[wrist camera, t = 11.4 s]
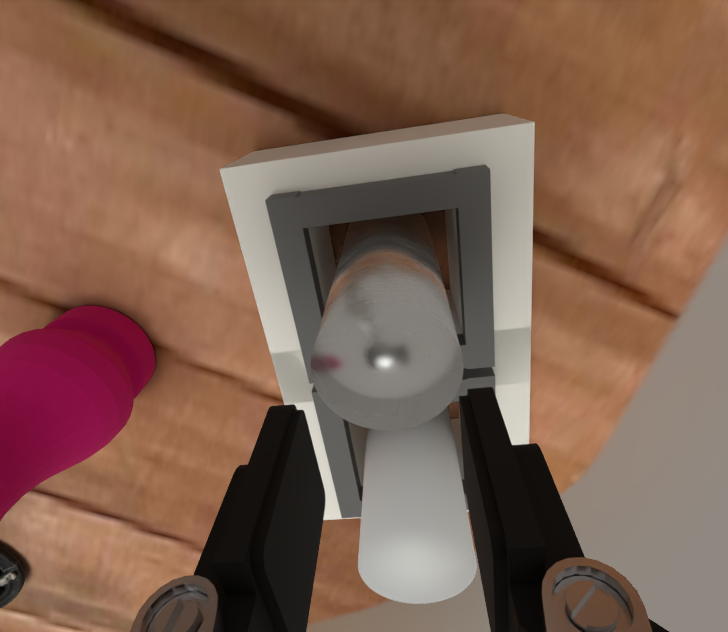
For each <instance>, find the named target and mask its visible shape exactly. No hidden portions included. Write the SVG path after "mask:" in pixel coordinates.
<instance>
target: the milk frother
mask: <svg viewBox="0 0 728 632" xmlns="http://www.w3.org/2000/svg"><path fill="white" fill-rule="evenodd" d="M24 581H25V575H24V570H23V568H22V566H21V564H20V562H19V561H18V559H17V558H15V556H14V555H13V554H11V553H10V552H9V551H8V550H6V549H5V548H3V547H1V546H0V608H2V607H4V606H5V605H7V604H8V603H10V602H11V601H12V600H13V599H14V598H15V597H16V596H17V595H18V593H19V592H20V590H21V589H22V587H23V585H24Z"/></svg>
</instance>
